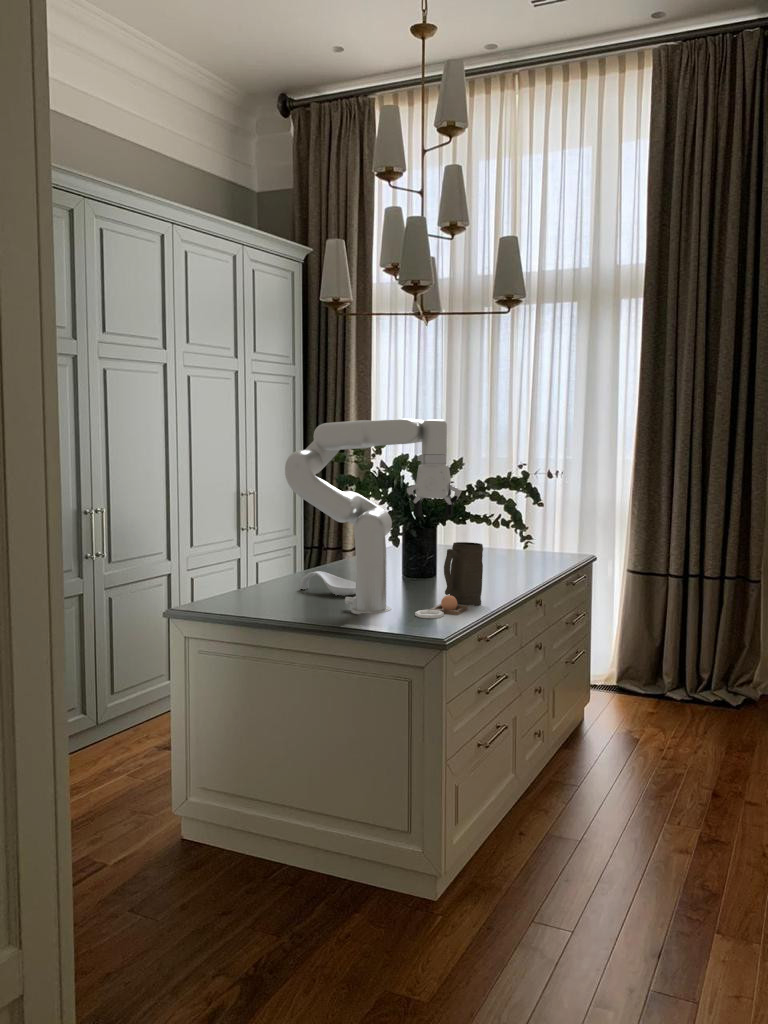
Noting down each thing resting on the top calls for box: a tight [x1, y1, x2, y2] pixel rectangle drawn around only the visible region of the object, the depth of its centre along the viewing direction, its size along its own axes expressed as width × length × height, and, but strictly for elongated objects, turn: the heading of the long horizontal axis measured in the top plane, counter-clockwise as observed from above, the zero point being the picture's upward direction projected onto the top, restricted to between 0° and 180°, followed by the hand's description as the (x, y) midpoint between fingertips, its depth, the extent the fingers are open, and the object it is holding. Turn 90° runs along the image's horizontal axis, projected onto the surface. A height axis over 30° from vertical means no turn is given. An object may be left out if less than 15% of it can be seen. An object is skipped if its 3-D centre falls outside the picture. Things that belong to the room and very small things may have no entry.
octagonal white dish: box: [414, 609, 445, 619], centre depth 276 cm, size 8×8×2 cm
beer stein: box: [443, 541, 484, 606], centre depth 297 cm, size 15×11×20 cm
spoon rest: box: [298, 570, 356, 597], centre depth 318 cm, size 24×12×7 cm, turn 59°
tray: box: [429, 603, 468, 616], centre depth 283 cm, size 9×9×2 cm
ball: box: [440, 594, 458, 611], centre depth 283 cm, size 5×5×5 cm
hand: (433, 516), depth 279 cm, fingers open, 9 cm apart
